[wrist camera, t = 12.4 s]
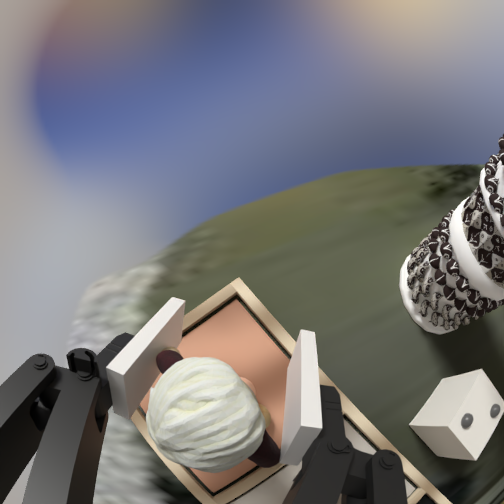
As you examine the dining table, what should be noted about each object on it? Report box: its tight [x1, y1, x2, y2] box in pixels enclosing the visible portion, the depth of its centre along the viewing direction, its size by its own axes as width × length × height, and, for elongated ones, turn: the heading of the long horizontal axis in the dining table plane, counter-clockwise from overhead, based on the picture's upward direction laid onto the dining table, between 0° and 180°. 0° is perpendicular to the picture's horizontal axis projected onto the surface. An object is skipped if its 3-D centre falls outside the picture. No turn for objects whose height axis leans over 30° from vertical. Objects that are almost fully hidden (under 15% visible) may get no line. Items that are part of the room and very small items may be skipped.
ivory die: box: [409, 369, 504, 460], centre depth 13 cm, size 5×5×6 cm
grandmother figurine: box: [146, 346, 282, 473], centre depth 11 cm, size 8×4×13 cm, turn 56°
